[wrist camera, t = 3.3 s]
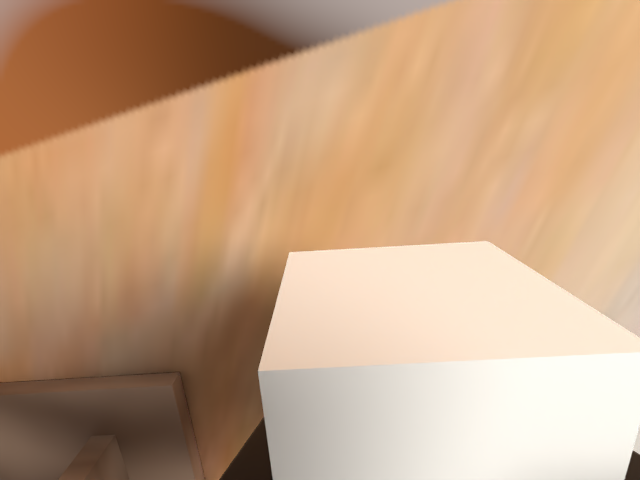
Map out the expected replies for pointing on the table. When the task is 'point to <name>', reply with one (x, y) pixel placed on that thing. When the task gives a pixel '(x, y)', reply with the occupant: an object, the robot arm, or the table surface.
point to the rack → (98, 429)
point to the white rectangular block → (443, 370)
